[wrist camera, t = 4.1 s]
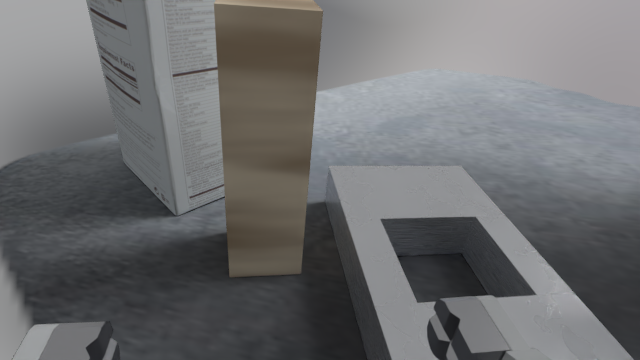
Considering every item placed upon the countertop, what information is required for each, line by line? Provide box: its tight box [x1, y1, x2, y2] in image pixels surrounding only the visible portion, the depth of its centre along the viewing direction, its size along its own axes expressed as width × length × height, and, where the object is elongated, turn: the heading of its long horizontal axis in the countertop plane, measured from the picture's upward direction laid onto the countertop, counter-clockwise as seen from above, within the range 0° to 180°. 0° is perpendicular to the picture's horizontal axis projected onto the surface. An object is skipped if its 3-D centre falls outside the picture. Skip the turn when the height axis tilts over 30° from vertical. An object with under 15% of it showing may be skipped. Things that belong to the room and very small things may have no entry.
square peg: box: [214, 0, 323, 277], centre depth 19 cm, size 4×4×14 cm
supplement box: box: [86, 0, 225, 216], centre depth 26 cm, size 10×9×17 cm
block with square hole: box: [325, 166, 634, 360], centre depth 21 cm, size 18×10×3 cm, turn 8°
